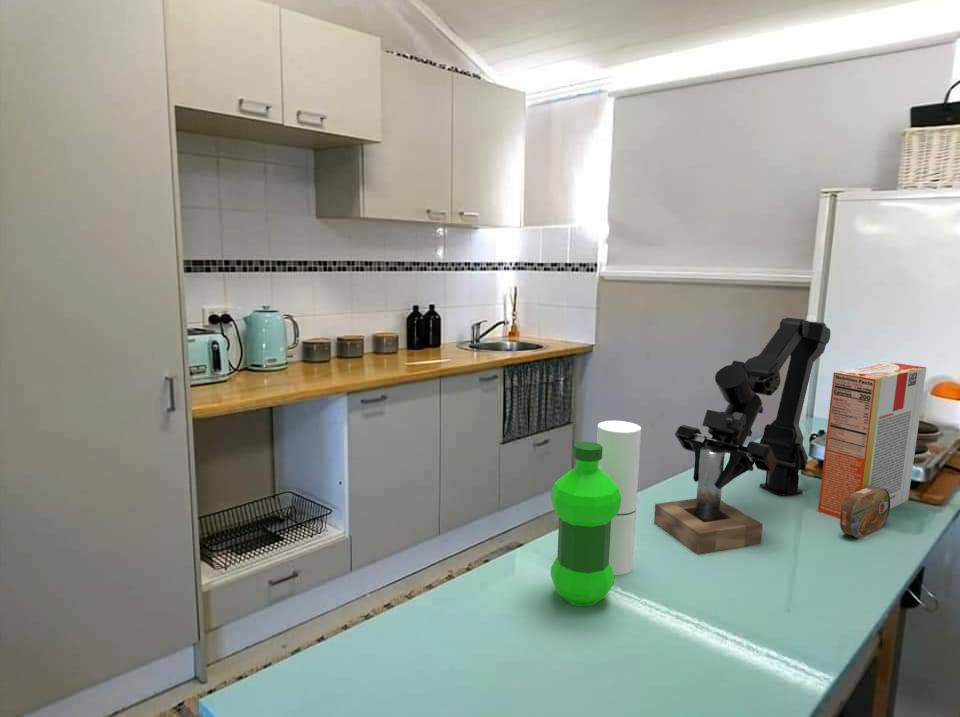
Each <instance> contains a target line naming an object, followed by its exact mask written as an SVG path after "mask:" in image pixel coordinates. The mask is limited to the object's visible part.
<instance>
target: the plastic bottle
mask: <svg viewBox="0 0 960 717" xmlns="http://www.w3.org/2000/svg"><path fill="white" fill-rule="evenodd" d="M602 449H603V447H602V446H601V445H600V444H598V443H597V442H595V441H594V442H593V441H579V442H578V441H577V442H576V443H574V444H573V457H574V459H575V460H576V466H575V467H573V468H572V469H570V470H569V471H567V472H566V473H565V474H564V475H562V476H561V477H559V479H557V480H556V481H555V482H554V484H553V486H552V488H551V503H552V504H551V505H552V508H553V509H554V512H555V513H556V515H557V516H558V535H557V536H558V537H557V556H556V557H555V559H554V561H553V563H552V565H551V568H550V577H551V580H552V582H553V585H554V588H555V590H556V592H557V593H558V595H560V596H561V597H562V598H563V599H565V601H566V602H568V603H569V604H571V605H573V606H577V607H582V608H583V607H584V608H586V607H587V608H588V607H591V606H595V605H596V604H597V603H598V602H601V601H602V600H603V599H605V598H606V597H607V595H608V594H609V592H610V591H611V590H612V587H613V586H614V584H615V575H614V573H613V570H612V568H611V566H610V564H609V550H610V531H611V520H612V519H613V518H614V517H615V516H616V515H617V514H618V512H619V509H620V505H621V495H620V492H619V489H618V487H617V486H616V485H615V484H614V482H613V481H612V480H611V479H610V478H609V477H608V476H607V475H606V474H605V473H604V472H603V471H601V470H600V469H599V468H598V461H599V460H601V459H602Z"/></svg>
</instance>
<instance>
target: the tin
mask: <svg viewBox="0 0 960 717" xmlns="http://www.w3.org/2000/svg"><path fill="white" fill-rule="evenodd" d="M890 510H891V509H890V495H889V493H888V491H887V490H886V489H884V488H878V487H874V486H869V487H866V488H864V489H862V490H859V491H857V492H854V493H852V494H850V495H848V496H847V497H846V498H845V500H844V502H843V504H842V506H841V515H840V519H839V520H840V521H839V527H840V529H841V532H842V533H844V534H846V535H848V536H850V537H854V538H856V539H862V538H864V537H866V536H868V535H870V534H872V533H874V532H877V531H878V530H880V529H882V528H883V526H885V524H886V522H887V520H888V517H889V515H890Z"/></svg>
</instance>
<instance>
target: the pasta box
mask: <svg viewBox="0 0 960 717" xmlns="http://www.w3.org/2000/svg"><path fill="white" fill-rule="evenodd" d="M926 375H927V367H926V366H918V365H911V364H905V363H898V362H892V361H883V362H878V363H877V362H876V363H873V364H867V365H862V366H858V367H853V368H847V369H843V370H838V371H834V372H833V375H832V376H833V377H832V383H831V384H832V385H831V391H830V392H831V393H830V394H831V395H830V400H829V401H830V402H829V410H828V411H829V412H828V420H827V428H826V437H825V446H824V455H823V463H822V472H821V483H820V489H819V498H818V507H817V512H819V513H822V514H826V515H828V516H830V517H832V518H837V519H839V520H840V515H841V506H842V504H843V502H844V500H845V498H846V497H847V496H848V495H850V494H852V493H854V492H857V491H859V490H862V489H864V488H866V487H869V486H874V487H878V488H884V489H886V490H887V491H888V493H889V495H890V510H891V509H893V508H895V507H897V506H899V505H901V504H903V503H905V502H908V501H909V496H910V491H911V490H910V489H911V482H912V474H913V468H914V459H915V453H916V446H917V439H918V430H919V426H920V425H919V424H920V418H921V412H922V411H921V410H922V403H923V395H924V389H925V383H926V382H925V381H926Z"/></svg>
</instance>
